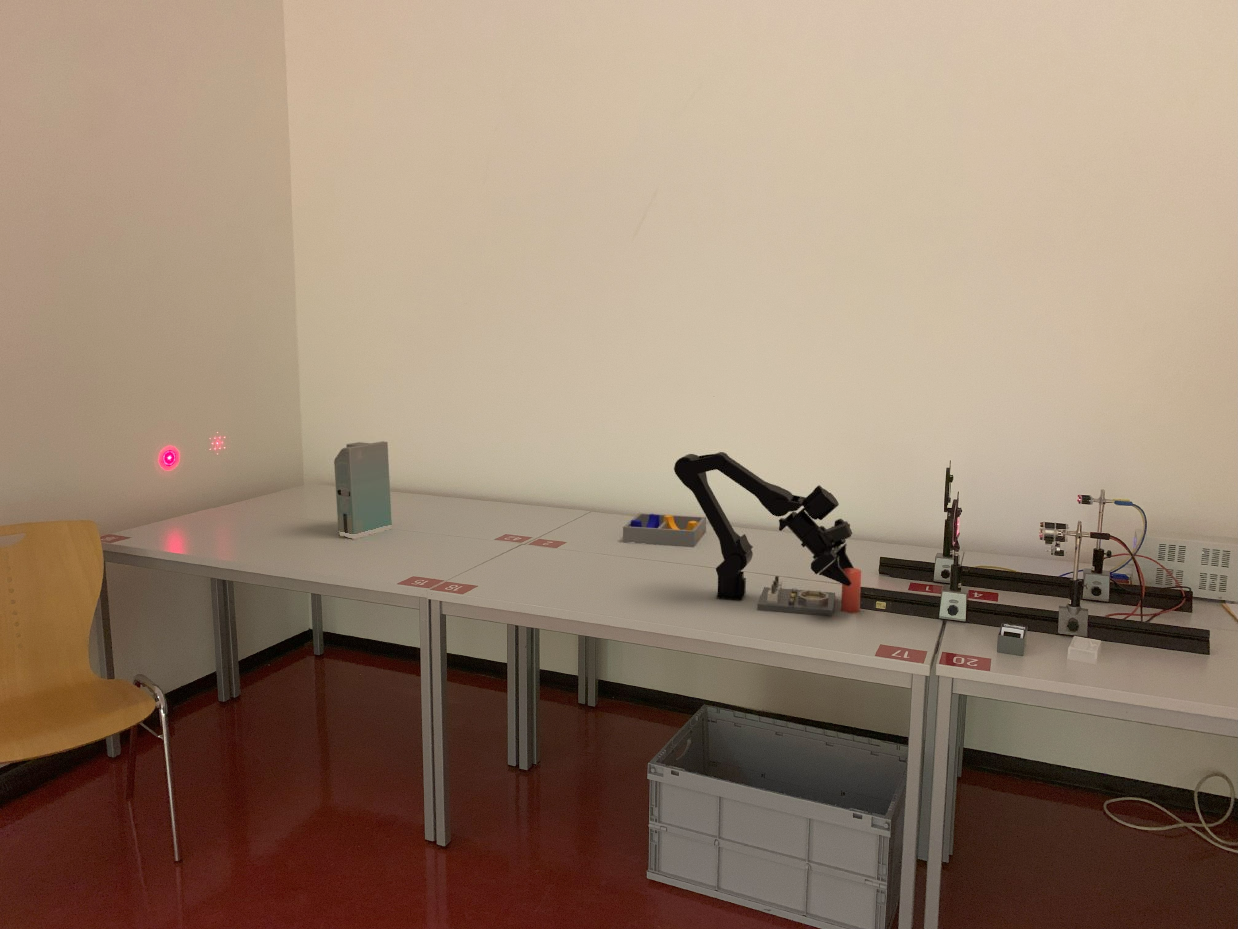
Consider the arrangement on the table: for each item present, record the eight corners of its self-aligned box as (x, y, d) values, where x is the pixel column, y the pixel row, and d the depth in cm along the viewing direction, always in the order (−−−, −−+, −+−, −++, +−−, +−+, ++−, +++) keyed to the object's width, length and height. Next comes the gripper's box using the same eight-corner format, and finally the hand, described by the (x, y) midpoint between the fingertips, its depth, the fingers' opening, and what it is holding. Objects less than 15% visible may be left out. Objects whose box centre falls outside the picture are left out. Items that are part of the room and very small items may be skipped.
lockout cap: (840, 611, 217) (842, 572, 216) (841, 606, 221) (842, 567, 220) (859, 613, 216) (861, 573, 214) (859, 607, 220) (861, 568, 219)
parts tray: (623, 542, 284) (623, 526, 283) (639, 527, 303) (639, 513, 302) (694, 547, 277) (694, 531, 277) (706, 531, 296) (706, 517, 296)
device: (376, 526, 307) (371, 440, 302) (392, 529, 303) (387, 441, 298) (338, 536, 293) (332, 446, 288) (354, 539, 289) (349, 448, 284)
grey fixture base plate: (757, 609, 219) (757, 588, 218) (764, 592, 232) (764, 572, 231) (832, 616, 214) (833, 594, 213) (835, 598, 227) (835, 577, 226)
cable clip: (642, 540, 286) (642, 522, 285) (631, 538, 289) (631, 520, 288) (662, 533, 296) (663, 515, 295) (651, 531, 299) (651, 513, 298)
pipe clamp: (700, 540, 286) (701, 521, 285) (691, 543, 283) (692, 523, 282) (671, 533, 294) (672, 514, 293) (662, 535, 291) (663, 516, 290)
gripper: (826, 519, 208) (873, 569, 206) (838, 503, 225) (881, 549, 223) (791, 549, 212) (837, 598, 210) (806, 531, 229) (848, 576, 227)
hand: (852, 579), depth 217 cm, fingers open, 9 cm apart
